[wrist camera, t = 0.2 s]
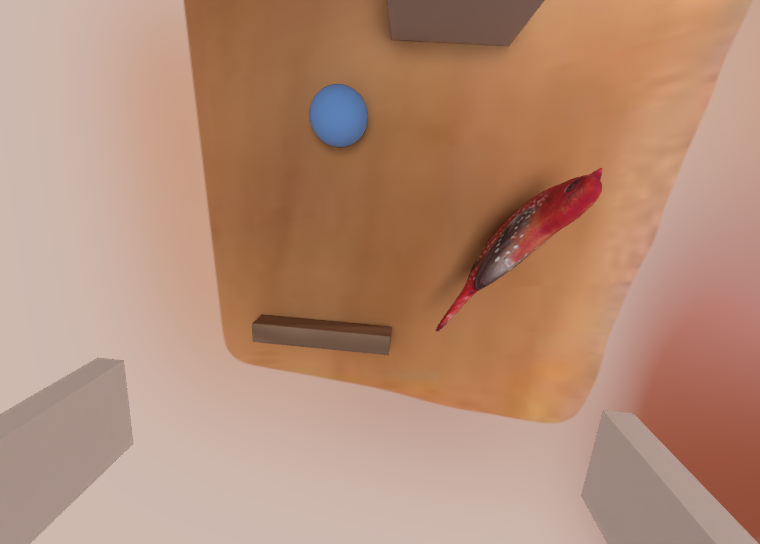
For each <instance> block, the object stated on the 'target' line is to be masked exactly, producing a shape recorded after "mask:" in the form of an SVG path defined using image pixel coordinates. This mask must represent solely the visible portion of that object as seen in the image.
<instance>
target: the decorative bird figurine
mask: <svg viewBox="0 0 760 544" xmlns="http://www.w3.org/2000/svg"><path fill="white" fill-rule="evenodd" d="M601 175H602V168H600V169H598V170H596V171H594V172H593V173H591V174H590V175H585V176H581V177H577V178H574V179H571V180H568V181H566V182H564V183H562V184H560V185H557V186H554V187H552V188H549V189H547V190H545V191H543V192H542V193H540V194H538V195H537V196H535V197H534V198H532V199H531V200H529V201H528V202H527V203H525V204H524V205H523V206H521V207H520V208H519V209H518V210H517V211H515V212H514V213H513V214H512V215H511V216H510V217H509V218H508V219H507V220H506V221H505V222H504V223H503V224H502V225H501V226H500V227H499V228H498V230H497V231H496V232H495V233H494V234H493V236H492V237H491V238H490V240H489V241H488V243H487V244H486V246H485V248H484V249H483V251H482V252H481V254H480V256H479V257H478V259H477V260H476V262H475V263H474V265H473V267H472V269H471V272H470V274H469V277H468V280H467V282H466V284H465V286H464V288H463V290H462V292H461V293H460V295H459V296H458V298H457V299H456V301H455V302H454V303H453V305H452V306H451V307H450V309H449V310H448V312H447V313H446V315H445V316H444V318H443V319H442V320H441V322H440V324H439V325H438V327H437V329H436V331H439V330H440V329H442V328H443V326H444V325H446V324H447V322H448V321H449V320H450V319H451V318H452V317H453V316H454V315H455V314H456V313H457V312H458V311H459V309H460V308H461V307H462V306H463V305H464V304H465V303H466V302H467V301H468V300H469V299H470V298H471V297H472V296H473V295H474V294H475V293H476V292H477V291H479V290H480V289H482V288H484V287H486V286H488V285H489V284H491V283H493V282H494V281H495V280H497V279H498V278H500V277H501V276H503V275H504V274H506V273H507V272H508V271H510V270H511V269H513V268H514V267H515V266H517V265H518V264H519V263H520V262H522V261H523V260H524V259H525V258H527V257H528V256H529V255H530V254H531V253H532V252H534V251H535V250H536V249H537V248H538V247H539V246H541V245H542V244H543V243H544V242H546V241H547V240H548V239H549V238H550V237H552V236H553V235H554V234H555V233H556V232H558V231H559V230H561V229H562V228H564V227H565V226H567V225H568V224H570V223H571V222H573V221H574V220H576V219H577V218H578V217H580V216H581V215H582V214H583V213H584V212H585V211H586V210H588V209H589V208H590V207H591V206H592V205H593V204H594V203H595V201H596V200H597V199H598V197H599V196H600V194H601V191H602V184H601V182H600V179H601Z"/></svg>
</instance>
